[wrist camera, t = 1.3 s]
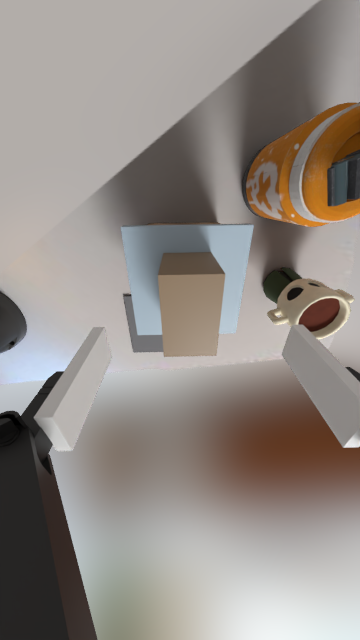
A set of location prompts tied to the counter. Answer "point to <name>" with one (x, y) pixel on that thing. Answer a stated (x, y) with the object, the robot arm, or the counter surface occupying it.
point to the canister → (309, 171)
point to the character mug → (307, 303)
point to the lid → (187, 282)
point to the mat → (141, 341)
